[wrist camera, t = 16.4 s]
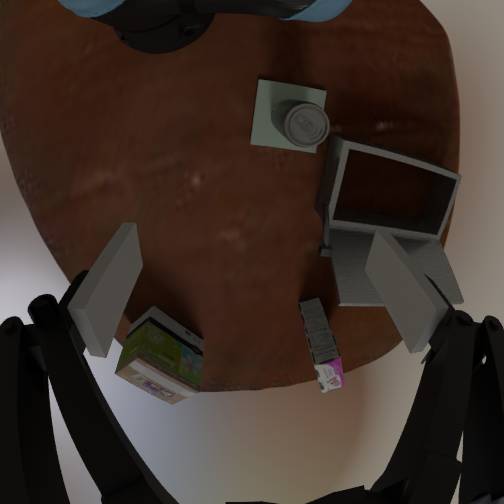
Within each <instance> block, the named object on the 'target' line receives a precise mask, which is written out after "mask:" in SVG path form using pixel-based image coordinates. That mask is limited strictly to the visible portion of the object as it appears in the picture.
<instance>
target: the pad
mask: <svg viewBox="0 0 504 504" xmlns="http://www.w3.org/2000/svg"><path fill="white" fill-rule="evenodd" d="M325 98H326V91H323V90H318V89H313V88H309V87H304V86H298V85H293V84H287V83H281V82H274V81H267V80H260V79H259V81H258V88H257V96H256V103H255V111H254V118H253V126H252V133H251V141H250V144H254V145H263V146H271V147H278V148H286V149H292V150H299V151H305V152H311V153H316V148H317V145H316V146H314V147H307V148H302V147H298V146H295V145H294V144H292V143H290V142H289V141H288V140H287V139H286V138H285V137H284V136H283V135H282V134H281V133H280V132H279V131H278V130H277V129H276V128H275V127H274V126H273V124H272V122H271V112H272V109H273V107H274V106H275V105H276V104H277V103H278V102H280V101H282V100H285V99H293V100H301V101H308V102H312V103H315V104H317V105H318V106H319V107H321V108H322V109H324V104H325Z"/></svg>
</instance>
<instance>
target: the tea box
mask: <svg viewBox="0 0 504 504" xmlns="http://www.w3.org/2000/svg"><path fill="white" fill-rule="evenodd" d="M203 347H204V340H202V339H201V338H199V337H198V336H196V335H195V334H193V333H192V332H190V331H189V330H188V329H186V328H185V327H183V326H182V325H180V324H179V323H177V322H176V321H175V320H173V319H172V318H170V317H169V316H167V315H166V314H165V313H164V312H162V311H161V310H159V309H158V308H157V307H156V306H152V307H151V308H150V309H149V310H148V311H147V312H146V313H144V314H143V315H142V316H141V317H140V318H139V319H138V320H136V321H135V322H134V323H133V324H132V325H131V327H130V329H129V332H128V335H127V337H126V340H125V343H124V346H123V349H122V352H121V355H120V358H119V361H118V364H117V368H116V371H115V374H116V375H118V376H120V377H121V378H123V379H125V380H126V381H128V382H130V383H132V384H133V385H135V386H137V387H139V388H141V389H143V390H144V391H146V392H148V393H150V394H152V395H154V396H156V397H158V398H160V399H162V400H164V401H166V402H168V403H170V404H174V403H176V402H179V401H181V400H183V399H185V398H187V397H190V396H192V395H194V394H196V393H198V392H200V382H201V370H202V359H203Z"/></svg>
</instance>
